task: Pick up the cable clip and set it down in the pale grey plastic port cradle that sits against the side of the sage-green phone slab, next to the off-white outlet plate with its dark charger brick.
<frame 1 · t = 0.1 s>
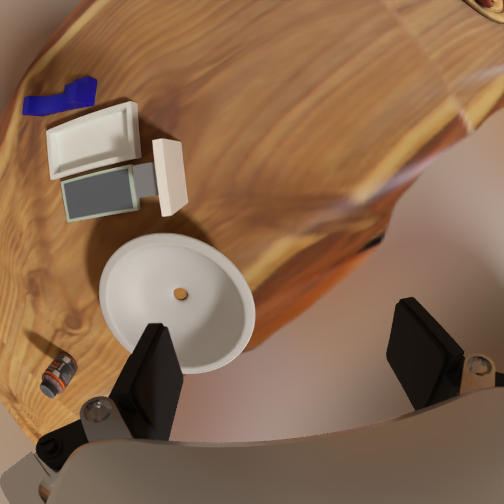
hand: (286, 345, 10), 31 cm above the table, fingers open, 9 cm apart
soup bowl: (181, 292, 45), on the table
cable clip: (68, 98, 34), on the table
phone: (99, 193, 39), on the table
supplement bottle: (68, 360, 51), on the table
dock: (93, 142, 36), on the table
outlet: (180, 172, 38), on the table
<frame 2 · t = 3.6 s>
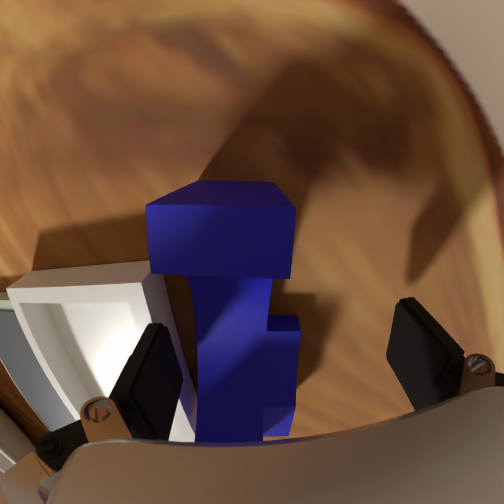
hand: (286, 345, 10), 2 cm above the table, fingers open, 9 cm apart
soup bowl: (0, 413, 19), on the table
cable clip: (248, 310, 13), on the table
phone: (41, 374, 15), on the table
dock: (130, 388, 15), on the table
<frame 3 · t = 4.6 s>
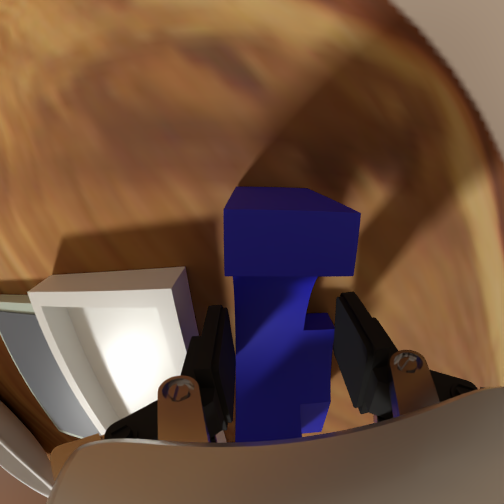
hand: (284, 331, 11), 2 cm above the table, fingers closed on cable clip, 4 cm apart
soup bowl: (8, 413, 20), on the table
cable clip: (282, 311, 14), on the table, touching gripper
phone: (55, 375, 16), on the table
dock: (148, 390, 15), on the table
when the fingers open (3 cm above the table, at t = 9.7 s): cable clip stays where it is, resting on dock.
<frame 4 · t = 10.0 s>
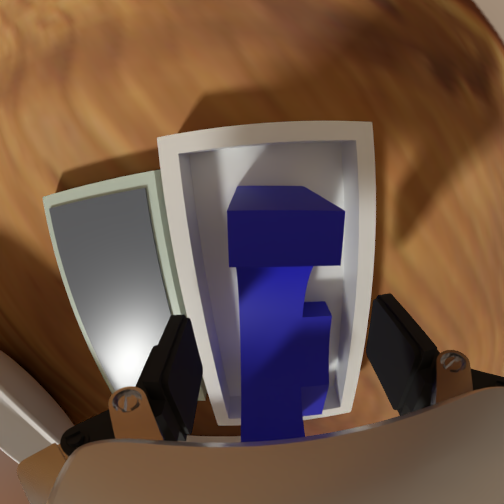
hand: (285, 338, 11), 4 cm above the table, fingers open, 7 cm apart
soup bowl: (27, 390, 19), on the table
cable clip: (283, 300, 15), resting on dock
phone: (128, 302, 15), on the table
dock: (277, 292, 15), on the table
outlet: (195, 439, 20), on the table
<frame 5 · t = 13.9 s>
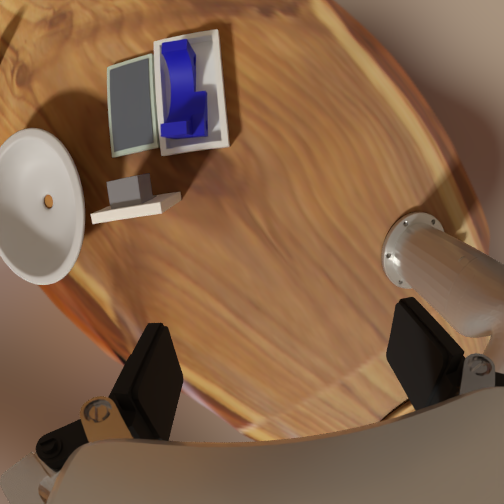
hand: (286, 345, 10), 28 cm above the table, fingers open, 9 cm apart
soup bowl: (50, 201, 36), on the table
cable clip: (190, 95, 32), resting on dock
phone: (133, 105, 32), on the table
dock: (192, 92, 32), on the table
outlet: (150, 200, 37), on the table
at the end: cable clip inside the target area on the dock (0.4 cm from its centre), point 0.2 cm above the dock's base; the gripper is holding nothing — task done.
